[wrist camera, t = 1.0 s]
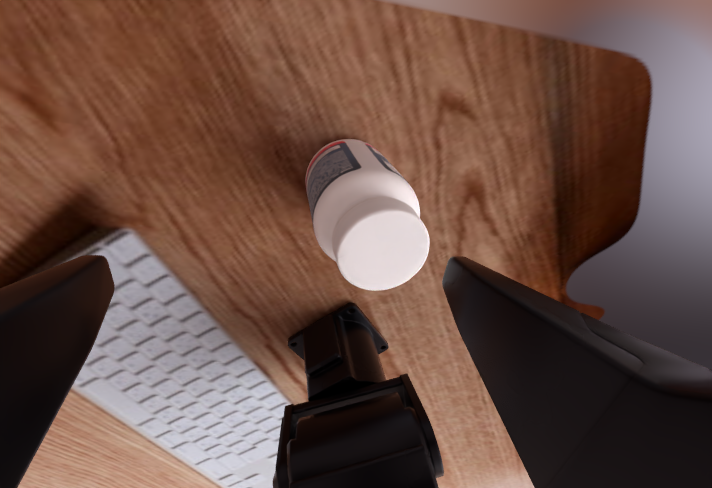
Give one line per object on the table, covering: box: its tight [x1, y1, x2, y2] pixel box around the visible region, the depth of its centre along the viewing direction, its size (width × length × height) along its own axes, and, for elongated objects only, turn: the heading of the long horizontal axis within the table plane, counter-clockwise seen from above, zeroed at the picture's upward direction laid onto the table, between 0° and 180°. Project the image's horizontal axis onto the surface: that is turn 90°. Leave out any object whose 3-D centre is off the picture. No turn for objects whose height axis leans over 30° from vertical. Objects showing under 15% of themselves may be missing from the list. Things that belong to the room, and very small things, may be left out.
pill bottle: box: [306, 139, 430, 291], centre depth 17 cm, size 5×5×9 cm
